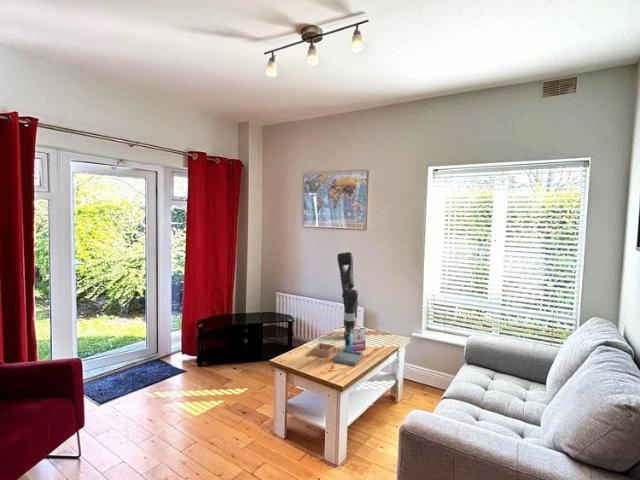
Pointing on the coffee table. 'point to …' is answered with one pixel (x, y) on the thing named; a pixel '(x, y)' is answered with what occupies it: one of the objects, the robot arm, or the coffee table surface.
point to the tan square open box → (324, 350)
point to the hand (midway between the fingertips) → (348, 343)
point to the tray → (348, 357)
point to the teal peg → (349, 347)
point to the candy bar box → (358, 339)
